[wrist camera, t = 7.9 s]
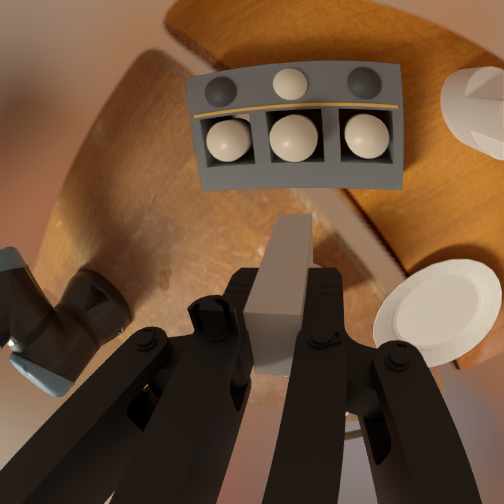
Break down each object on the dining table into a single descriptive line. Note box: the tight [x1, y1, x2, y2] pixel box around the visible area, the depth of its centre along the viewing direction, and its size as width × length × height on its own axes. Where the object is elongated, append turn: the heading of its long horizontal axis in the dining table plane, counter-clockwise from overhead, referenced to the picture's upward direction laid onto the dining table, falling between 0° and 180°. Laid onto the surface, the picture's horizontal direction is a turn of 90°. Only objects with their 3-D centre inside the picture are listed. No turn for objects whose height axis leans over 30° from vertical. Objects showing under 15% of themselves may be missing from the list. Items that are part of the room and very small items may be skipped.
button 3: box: [343, 113, 389, 158], centre depth 23 cm, size 4×4×4 cm
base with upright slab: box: [440, 66, 504, 160], centre depth 15 cm, size 9×9×12 cm
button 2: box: [269, 114, 318, 162], centre depth 24 cm, size 4×4×4 cm
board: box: [184, 61, 404, 191], centre depth 25 cm, size 20×12×4 cm, turn 97°
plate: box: [373, 259, 502, 367], centre depth 33 cm, size 21×21×2 cm
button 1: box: [207, 118, 253, 162], centre depth 27 cm, size 4×4×4 cm
